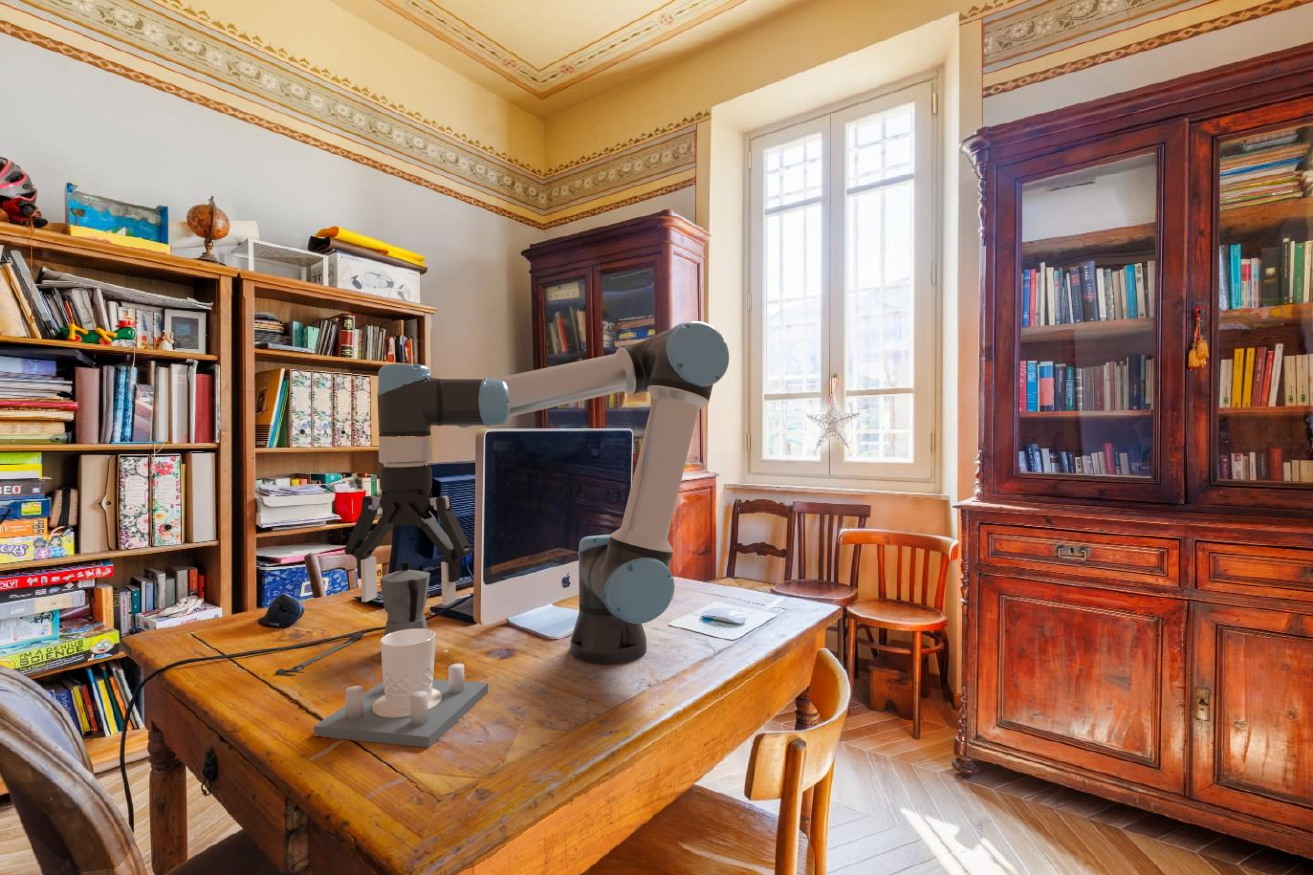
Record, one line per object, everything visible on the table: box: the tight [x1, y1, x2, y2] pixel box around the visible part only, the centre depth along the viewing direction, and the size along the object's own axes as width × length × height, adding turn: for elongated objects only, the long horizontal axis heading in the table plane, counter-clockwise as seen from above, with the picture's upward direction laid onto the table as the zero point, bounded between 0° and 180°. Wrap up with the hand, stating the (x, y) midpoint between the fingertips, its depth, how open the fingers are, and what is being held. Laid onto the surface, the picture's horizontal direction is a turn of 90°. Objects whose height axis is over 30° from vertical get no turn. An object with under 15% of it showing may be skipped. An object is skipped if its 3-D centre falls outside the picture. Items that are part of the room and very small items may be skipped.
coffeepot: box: [379, 560, 431, 637], centre depth 118 cm, size 15×9×18 cm, turn 33°
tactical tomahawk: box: [274, 631, 365, 677], centre depth 117 cm, size 21×7×1 cm, turn 166°
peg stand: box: [313, 663, 489, 748], centre depth 93 cm, size 18×18×6 cm
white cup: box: [380, 628, 436, 710], centre depth 93 cm, size 8×8×10 cm
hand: (408, 601), depth 93 cm, fingers open, 13 cm apart
